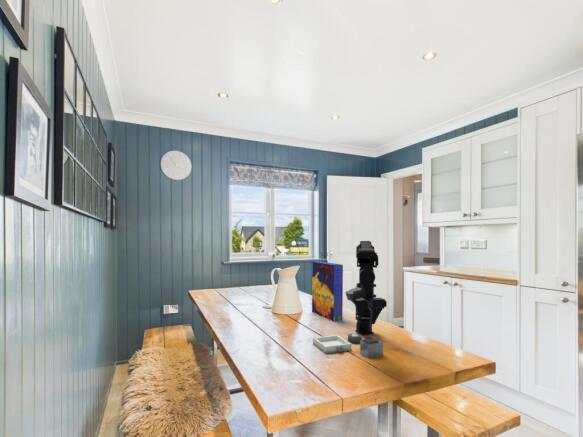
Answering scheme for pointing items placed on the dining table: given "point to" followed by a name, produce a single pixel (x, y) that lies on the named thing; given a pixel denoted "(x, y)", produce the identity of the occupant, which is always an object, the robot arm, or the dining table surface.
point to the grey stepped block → (371, 347)
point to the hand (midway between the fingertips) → (366, 321)
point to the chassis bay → (331, 344)
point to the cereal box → (327, 290)
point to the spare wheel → (354, 338)
